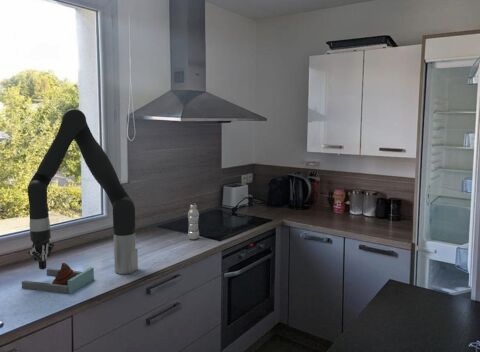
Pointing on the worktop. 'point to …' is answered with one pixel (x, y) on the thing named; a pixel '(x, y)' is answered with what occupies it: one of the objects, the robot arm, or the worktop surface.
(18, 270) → the worktop surface
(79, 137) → the robot arm
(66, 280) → the poop emoji
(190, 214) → the plastic bottle
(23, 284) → the channel
